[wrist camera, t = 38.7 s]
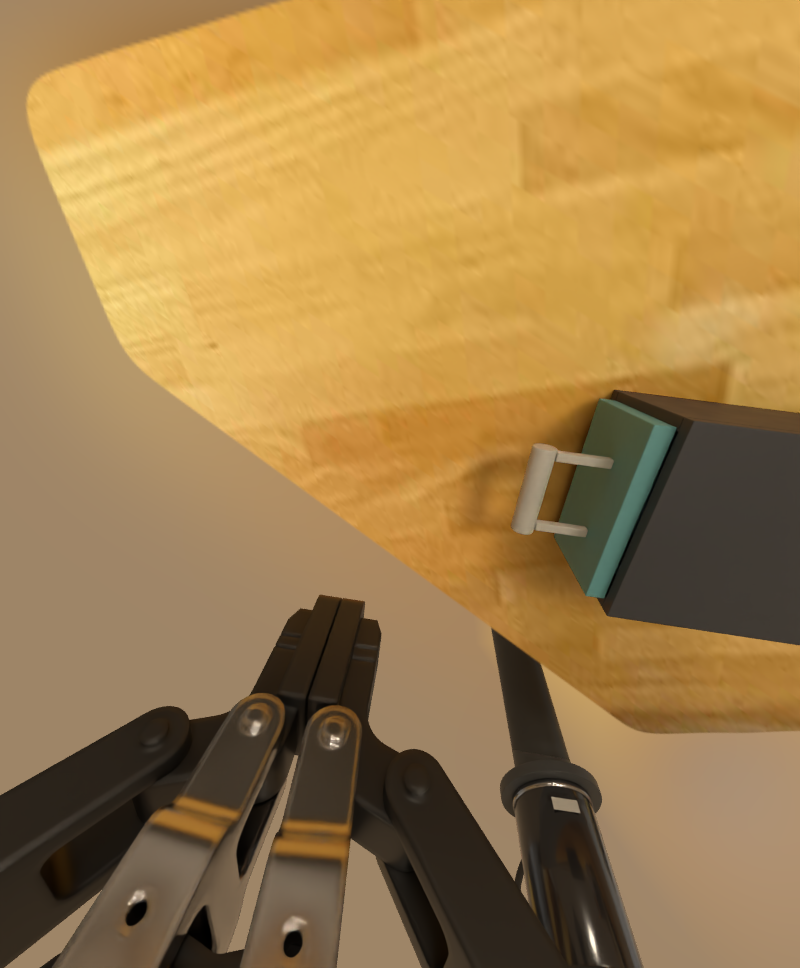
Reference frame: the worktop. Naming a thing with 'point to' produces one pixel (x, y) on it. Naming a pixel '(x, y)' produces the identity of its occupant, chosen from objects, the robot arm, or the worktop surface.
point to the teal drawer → (598, 490)
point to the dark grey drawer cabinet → (717, 524)
